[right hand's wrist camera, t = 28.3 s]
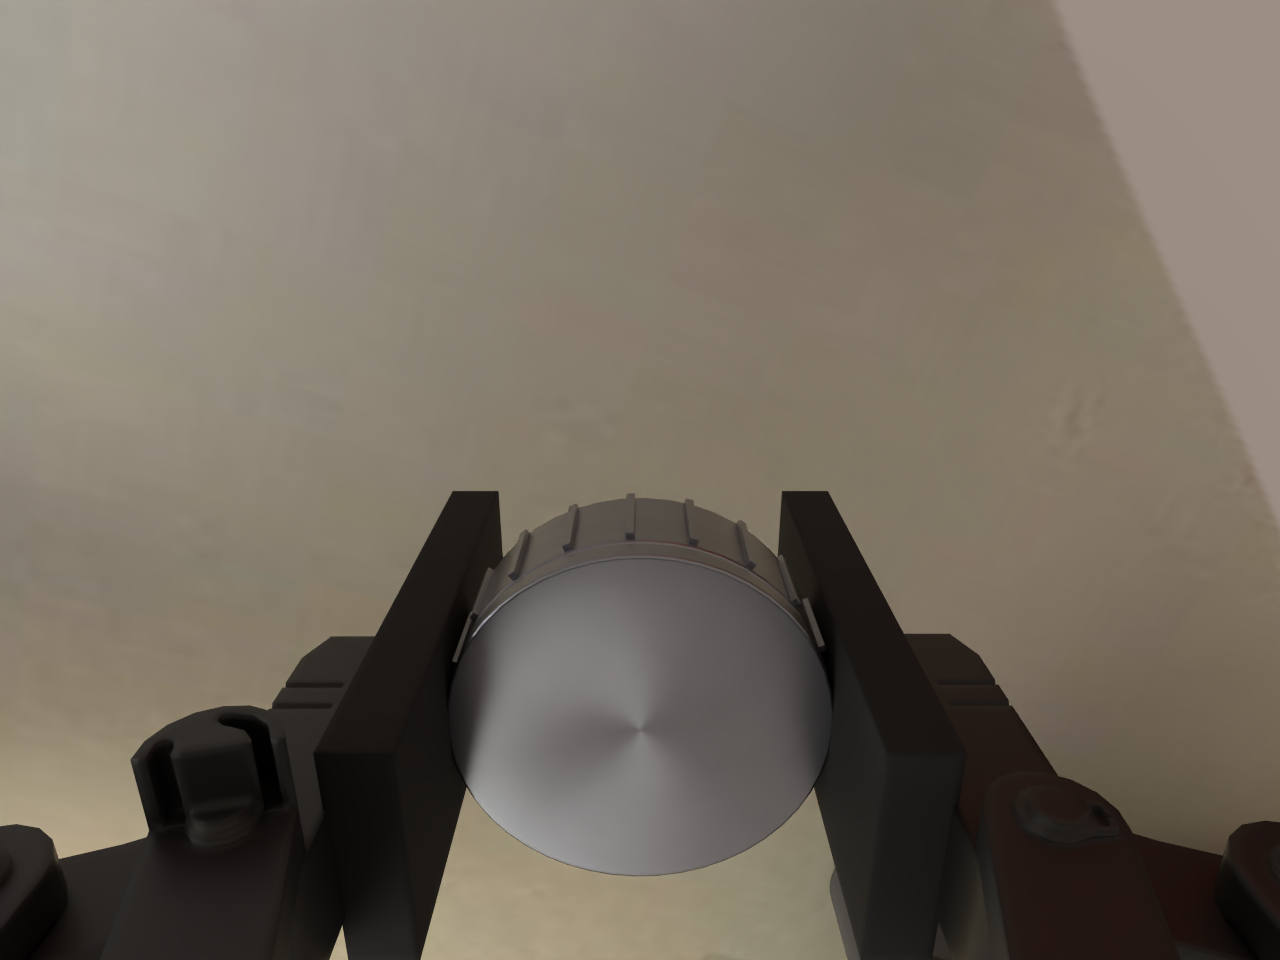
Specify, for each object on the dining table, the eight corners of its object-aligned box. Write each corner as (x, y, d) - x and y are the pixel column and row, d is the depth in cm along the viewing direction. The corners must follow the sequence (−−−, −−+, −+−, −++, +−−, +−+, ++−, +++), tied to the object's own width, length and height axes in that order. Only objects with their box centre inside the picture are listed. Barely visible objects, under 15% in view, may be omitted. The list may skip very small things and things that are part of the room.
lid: (543, 435, 11) (526, 485, 9) (877, 573, 12) (915, 643, 10) (419, 723, 13) (387, 808, 11) (719, 829, 13) (730, 925, 12)
